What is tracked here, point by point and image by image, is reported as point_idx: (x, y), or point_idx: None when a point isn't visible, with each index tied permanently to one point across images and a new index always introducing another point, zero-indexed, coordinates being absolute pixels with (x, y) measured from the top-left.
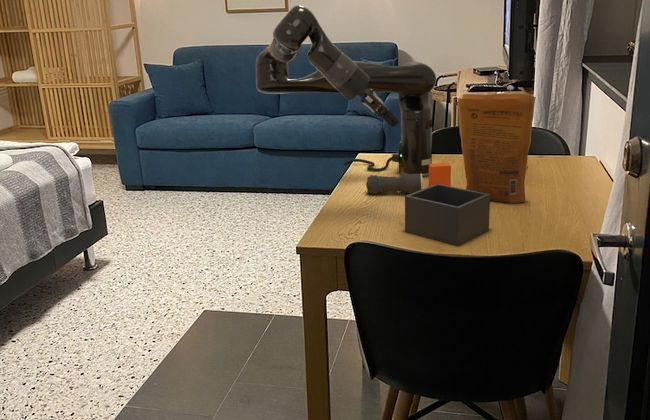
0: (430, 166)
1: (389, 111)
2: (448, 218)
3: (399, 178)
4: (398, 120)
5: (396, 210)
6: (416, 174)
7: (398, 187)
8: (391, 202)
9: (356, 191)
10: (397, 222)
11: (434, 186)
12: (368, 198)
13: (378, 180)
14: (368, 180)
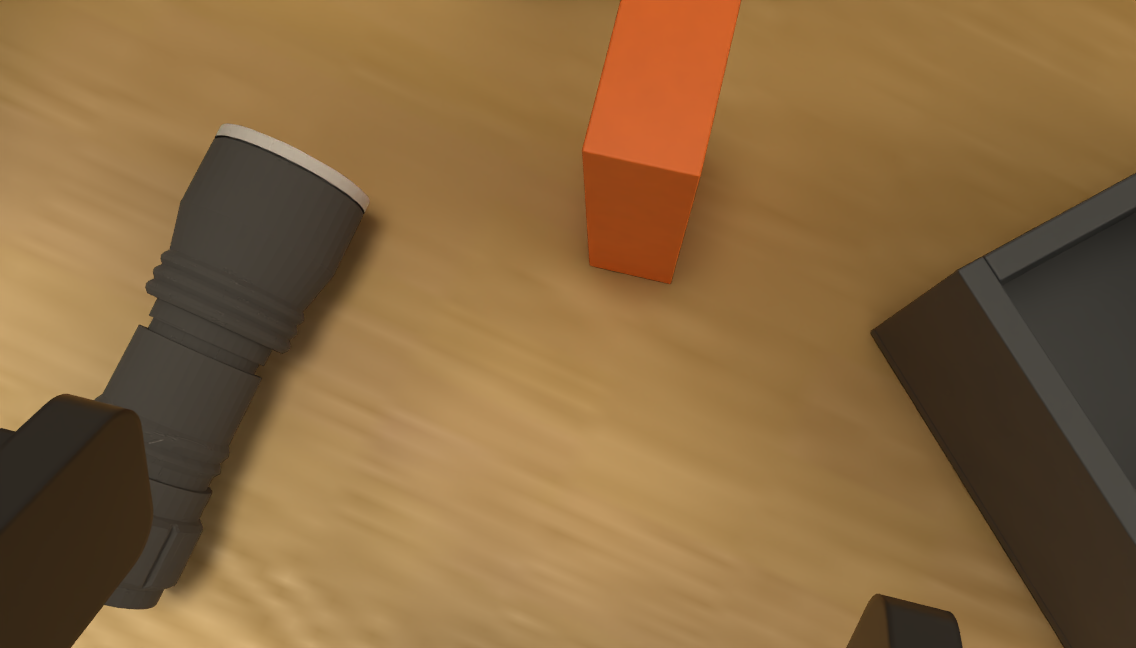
0: (664, 171)
1: (51, 492)
2: None
3: (210, 326)
4: (955, 621)
5: (610, 529)
6: (253, 181)
7: (264, 361)
8: (416, 487)
9: None
10: None
11: (1028, 327)
12: (239, 614)
13: None
14: None
